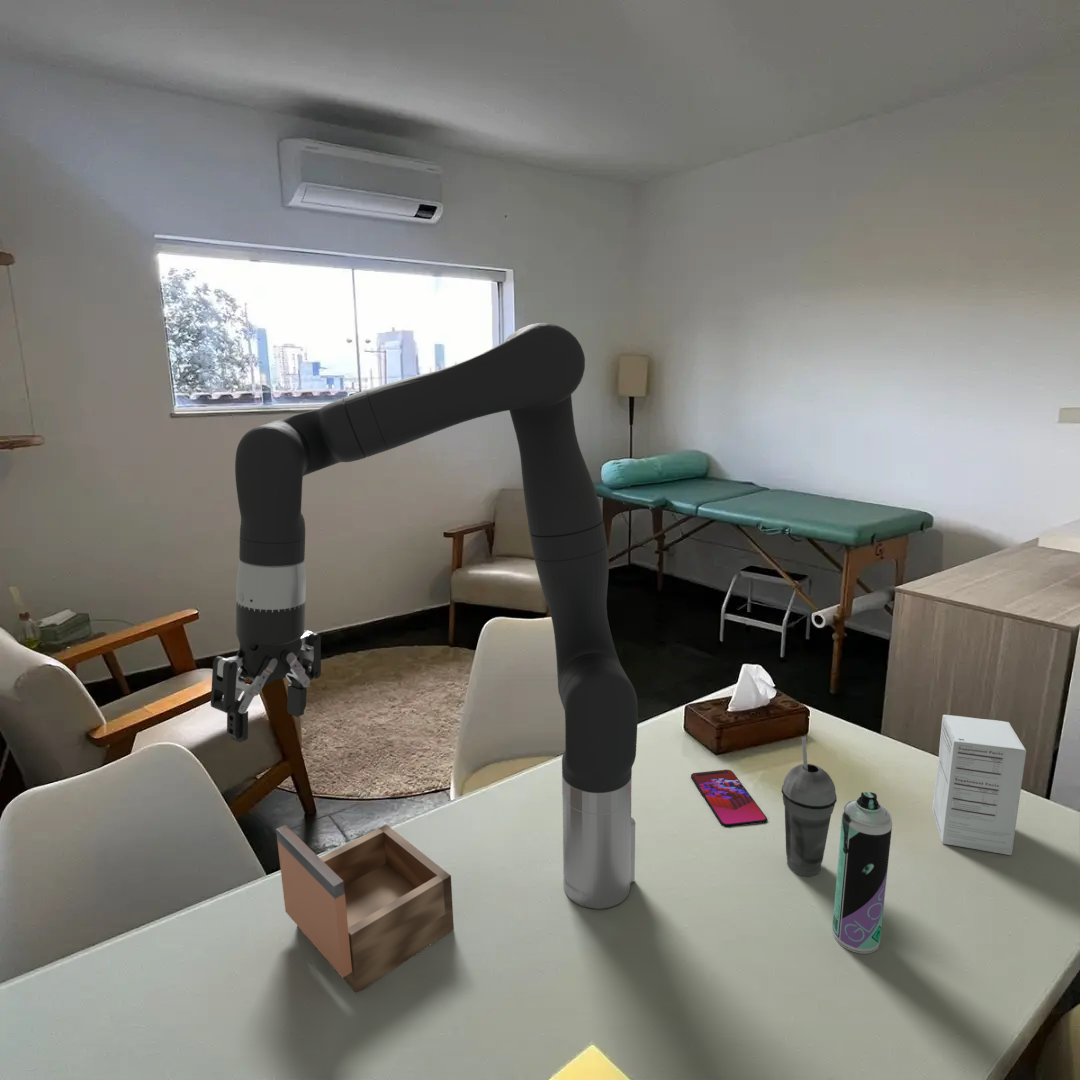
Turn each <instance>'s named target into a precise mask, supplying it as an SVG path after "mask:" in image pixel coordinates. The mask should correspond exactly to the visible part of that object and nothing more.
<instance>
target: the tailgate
mask: <svg viewBox="0 0 1080 1080" xmlns="http://www.w3.org/2000/svg"><path fill="white" fill-rule="evenodd" d="M275 832H276V840H277V841H276V842H277V849H278V857H279V858H278V859H279V866H280V867H279V868H280V874H281V875H280V876H281V883H282V892H283V901H284V908H285V909H284V910H285V913H286V914H287V915H288V917H289V918H290V919H291V920H292V921H293V922H294V924H295V925H296V926H297V927H298V928H299V930H301V932H303V934H304V935H305V936H306V937H307V939H308V940H309V941H310V942H311V943H312V944H313V945H314V947H316V949H317V950H318V951H319V952H320V953H321V955H322V956H323V957H324V958H325V959H326V960H327V962H329V964H330V965H331V966H332V968H333V969H334V970H335V971H336V972H337V973H338V974H339V976H341V978H342V979H344V978H343V977H345V976H346V975H348V974H350V973H351V972H352V965H351V954H350V944H349V933H348V922H347V911H346V901H345V890H344V881H343V880H342V879H341V878H340V877H339V876H338V875H337V874H336V873H335V872H334V871H333V870H332V869H331V868H329V867H328V866H327V865H326V864H325V863H324V862H323V861H322V860H321V859H320V856H319V855H317V854H316V853H315V852H314V851H313V850H312V849H311V848H310V847H309V846H308V844H306V843H305V842H304V841H303V839H301V838H300V837H299V836H298V835H297V834H295V832H294V831H293V830H292V829H291V828H290V827H288V826H287V825H286V824H284V825H282V826H281V825H280V826H279V827H277V828H275Z"/></svg>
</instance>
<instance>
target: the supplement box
mask: <svg viewBox="0 0 1080 1080" xmlns="http://www.w3.org/2000/svg"><path fill="white" fill-rule="evenodd" d="M940 729H941V730H940V735H939V736H940V740H939V751H938V761H937V767H936V775H935V784H934V792H933V802H932V809H931V810H932V816H933V817H934V818H933V819H934V822H935V825H936V827H937V831H938V834H939V837H940V840H941V843H942V844H943V845H948V846H949V845H950V846H956V847H960V848H961V847H962V848H966V849H972V850H978V851H983V852H989V853H995V854H1002V855H1006V856H1007V855H1008V856H1012V855H1013V848H1014V841H1015V835H1016V834H1015V833H1016V827H1017V819H1018V813H1019V805H1020V798H1021V792H1022V785H1023V784H1022V783H1023V776H1024V770H1025V763H1026V756H1027V750H1026V748H1025V746H1024V744H1023V743H1022V742H1021V740H1020V739H1019V737H1018V735H1017V733H1016V732H1015V730H1014V728H1013V727H1012V725H1011V723H1010V722H1009V721H1004V720H996V719H987V718H985V719H984V718H975V717H969V716H963V715H962V716H961V715H951V714H943V715H942V719H941V728H940Z"/></svg>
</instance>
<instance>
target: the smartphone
mask: <svg viewBox="0 0 1080 1080" xmlns="http://www.w3.org/2000/svg"><path fill="white" fill-rule="evenodd" d="M690 779H691V781H692V782H693V783H694V785H695V787H696V789H697V790H698V791H699V793H700V796H702V798H703V800H704V801H705V802H706V804H707V806H708V807H709V809H710V810H711V812H712V813H713V815H714V816H715V818H716V819H717V822H718V823H719V824H720V826H722V827H725V828H730V827H731V828H732V827H739V826H749V825H756V824H764V823H767V821H768V818H767V816H766V814H765V813H764V812H763V810H762V809H761V808H760V807H759V805H758V804H757V802H756V801H755V799H754V798H753V796H751V795H750V793H749V792H748V790H747V789H746V788H745V786H744V785H743V783H742V782H741V781H740V779H739V777H737V775H736V774H735V772H733V771H732V770H731V769H721V770H707V771H700V772H699V771H698V772H693V773H692V774H690Z"/></svg>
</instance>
